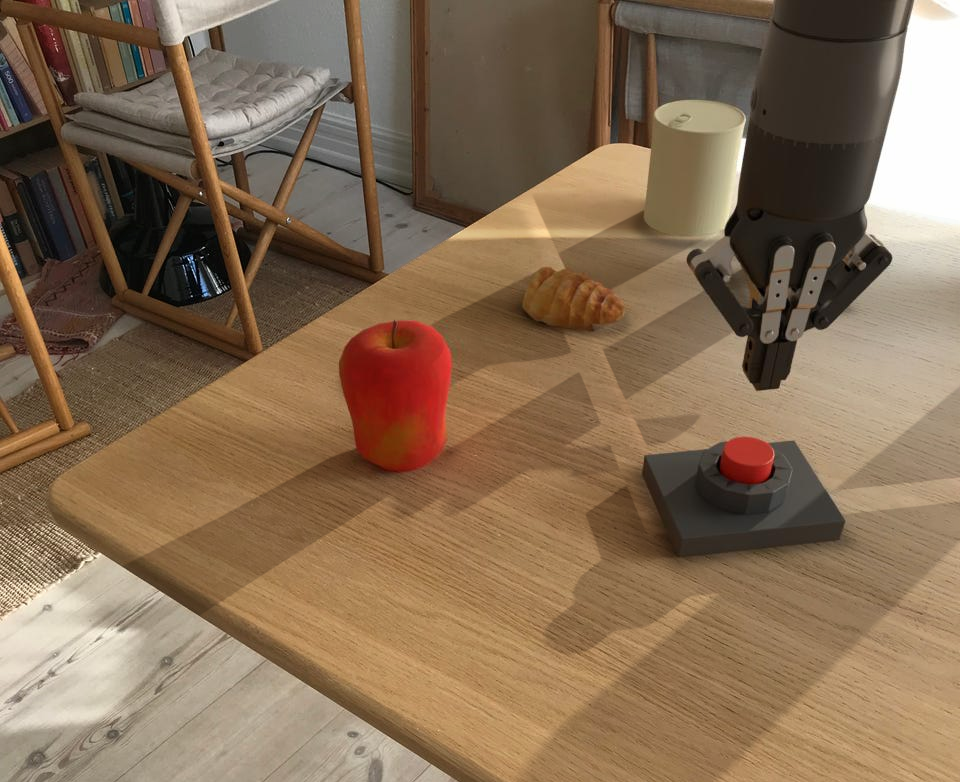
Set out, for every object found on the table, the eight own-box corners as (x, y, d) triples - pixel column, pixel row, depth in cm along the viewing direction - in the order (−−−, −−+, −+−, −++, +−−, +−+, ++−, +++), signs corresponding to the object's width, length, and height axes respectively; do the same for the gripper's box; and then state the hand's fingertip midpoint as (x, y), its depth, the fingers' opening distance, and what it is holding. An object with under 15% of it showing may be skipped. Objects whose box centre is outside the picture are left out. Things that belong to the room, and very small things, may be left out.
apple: (395, 414, 87) (385, 281, 79) (476, 447, 84) (475, 312, 75) (327, 464, 82) (308, 327, 74) (410, 501, 79) (400, 363, 70)
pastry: (635, 314, 99) (639, 275, 96) (605, 346, 95) (608, 308, 92) (547, 291, 102) (549, 253, 99) (514, 321, 98) (515, 283, 95)
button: (760, 454, 77) (764, 434, 75) (777, 483, 74) (781, 463, 73) (712, 458, 76) (716, 438, 75) (728, 488, 74) (732, 468, 73)
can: (623, 228, 112) (634, 110, 103) (678, 203, 116) (693, 87, 107) (690, 257, 107) (707, 135, 98) (745, 229, 111) (766, 110, 103)
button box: (789, 463, 82) (799, 419, 79) (838, 544, 75) (852, 500, 72) (641, 478, 81) (646, 435, 78) (677, 562, 74) (685, 518, 71)
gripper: (725, 146, 55) (684, 425, 67) (963, 128, 56) (879, 405, 68) (684, 97, 60) (653, 364, 72) (903, 81, 61) (835, 346, 73)
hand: (763, 383), depth 70 cm, fingers closed
